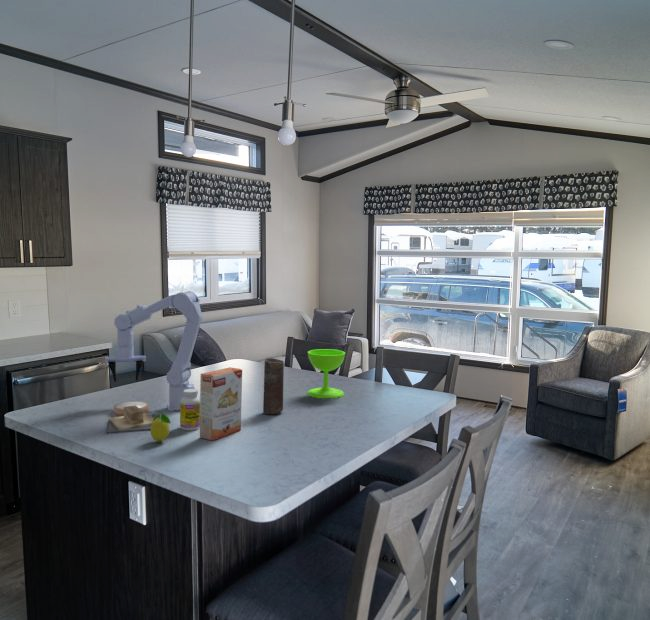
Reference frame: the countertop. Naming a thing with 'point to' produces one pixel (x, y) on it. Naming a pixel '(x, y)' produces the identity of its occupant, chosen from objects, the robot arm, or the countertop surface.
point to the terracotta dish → (120, 407)
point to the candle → (273, 386)
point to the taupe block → (132, 419)
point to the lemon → (160, 427)
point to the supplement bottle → (190, 410)
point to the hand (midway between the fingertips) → (126, 380)
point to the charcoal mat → (114, 430)
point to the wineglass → (326, 370)
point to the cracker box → (220, 403)
